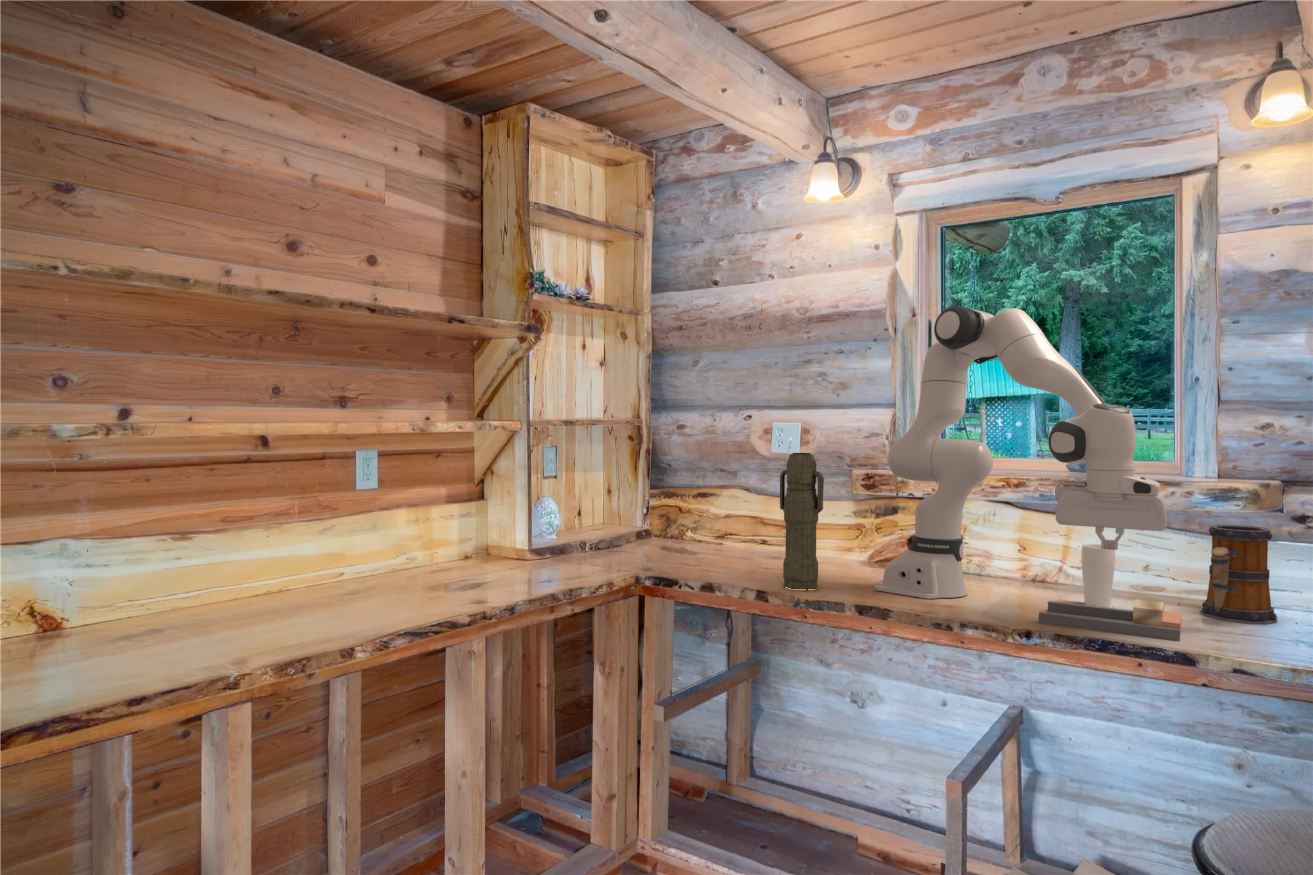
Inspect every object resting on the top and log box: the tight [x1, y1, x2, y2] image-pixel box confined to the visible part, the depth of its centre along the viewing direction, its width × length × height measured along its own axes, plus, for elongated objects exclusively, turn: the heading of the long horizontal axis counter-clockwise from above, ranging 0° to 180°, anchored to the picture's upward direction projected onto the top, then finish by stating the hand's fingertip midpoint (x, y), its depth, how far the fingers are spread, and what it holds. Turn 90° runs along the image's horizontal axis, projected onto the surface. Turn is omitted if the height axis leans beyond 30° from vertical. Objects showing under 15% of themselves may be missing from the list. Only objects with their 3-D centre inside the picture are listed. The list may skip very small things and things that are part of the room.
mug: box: [1199, 524, 1278, 626], centre depth 185 cm, size 19×14×20 cm
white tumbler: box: [1081, 543, 1116, 608], centre depth 191 cm, size 7×7×15 cm
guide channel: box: [1038, 600, 1182, 642], centre depth 173 cm, size 25×14×4 cm, turn 57°
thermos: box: [779, 452, 825, 590], centre depth 216 cm, size 9×12×35 cm
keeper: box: [1132, 598, 1165, 627], centre depth 169 cm, size 5×9×5 cm, turn 147°
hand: (1109, 549), depth 173 cm, fingers closed
